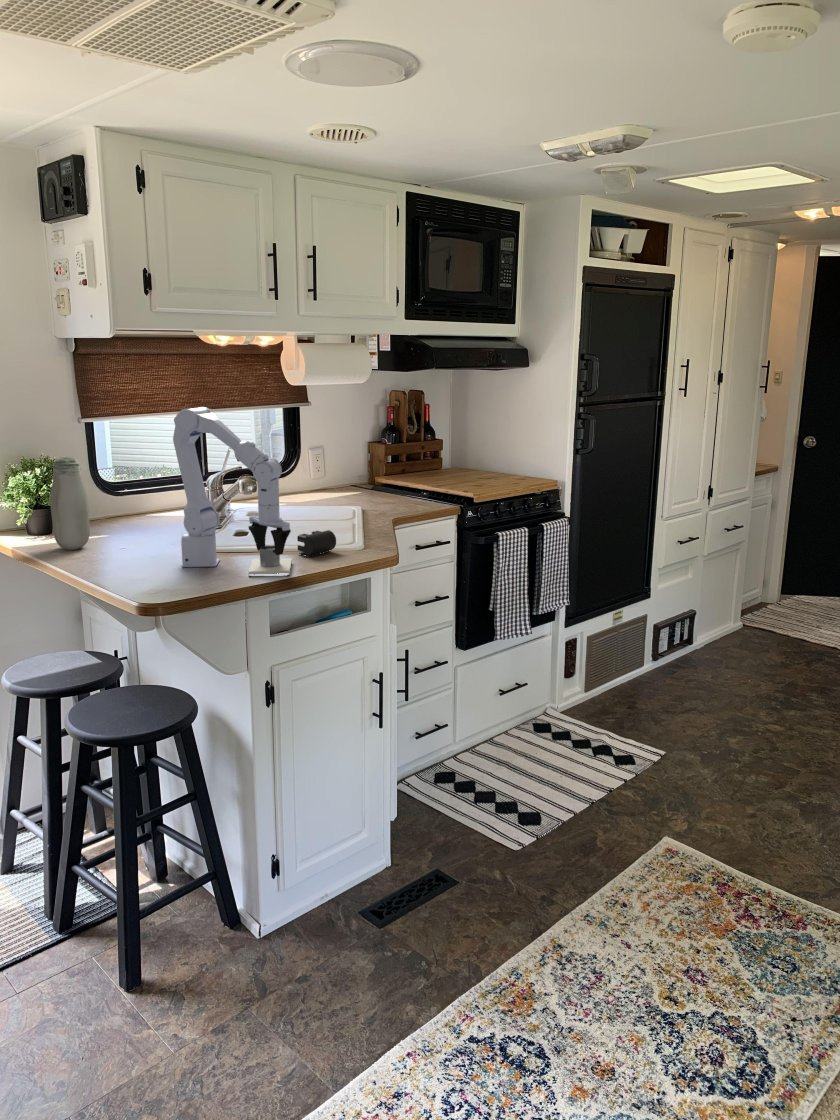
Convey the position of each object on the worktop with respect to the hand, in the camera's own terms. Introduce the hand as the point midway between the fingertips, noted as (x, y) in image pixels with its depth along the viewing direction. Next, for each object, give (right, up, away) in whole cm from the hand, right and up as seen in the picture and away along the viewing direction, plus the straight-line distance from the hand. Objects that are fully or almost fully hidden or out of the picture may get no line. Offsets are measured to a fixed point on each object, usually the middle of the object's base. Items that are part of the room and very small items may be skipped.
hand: (270, 552), depth 236 cm
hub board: (0, -5, +1) cm, 5 cm away
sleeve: (0, -4, +1) cm, 4 cm away
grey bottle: (-64, +1, +23) cm, 68 cm away
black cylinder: (+11, -1, +20) cm, 23 cm away
